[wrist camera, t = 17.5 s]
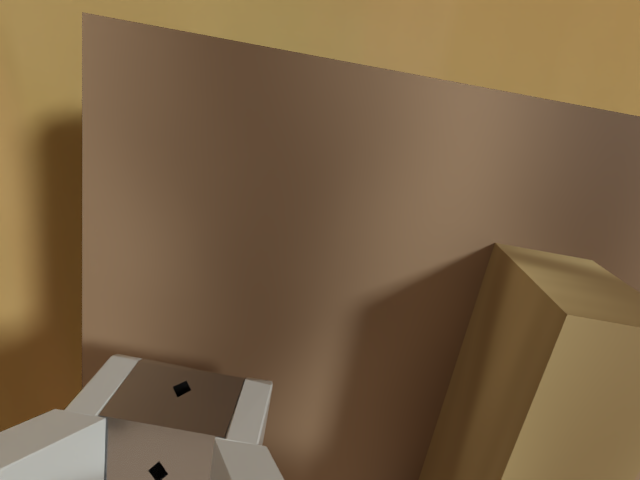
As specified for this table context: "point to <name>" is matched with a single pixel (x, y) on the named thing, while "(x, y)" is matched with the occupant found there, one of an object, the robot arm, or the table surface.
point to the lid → (366, 255)
